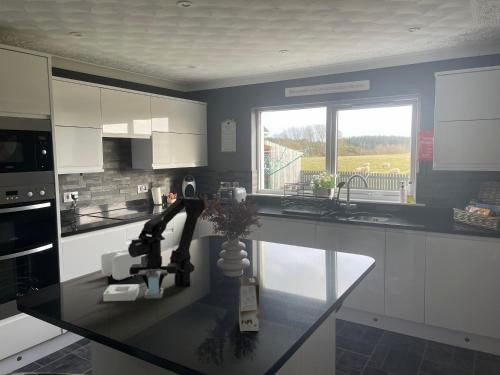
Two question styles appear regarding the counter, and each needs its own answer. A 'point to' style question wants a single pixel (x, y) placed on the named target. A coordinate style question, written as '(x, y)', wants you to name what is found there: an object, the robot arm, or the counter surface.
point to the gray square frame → (154, 294)
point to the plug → (154, 283)
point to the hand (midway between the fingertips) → (154, 289)
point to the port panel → (121, 292)
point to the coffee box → (249, 303)
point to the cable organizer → (118, 263)
